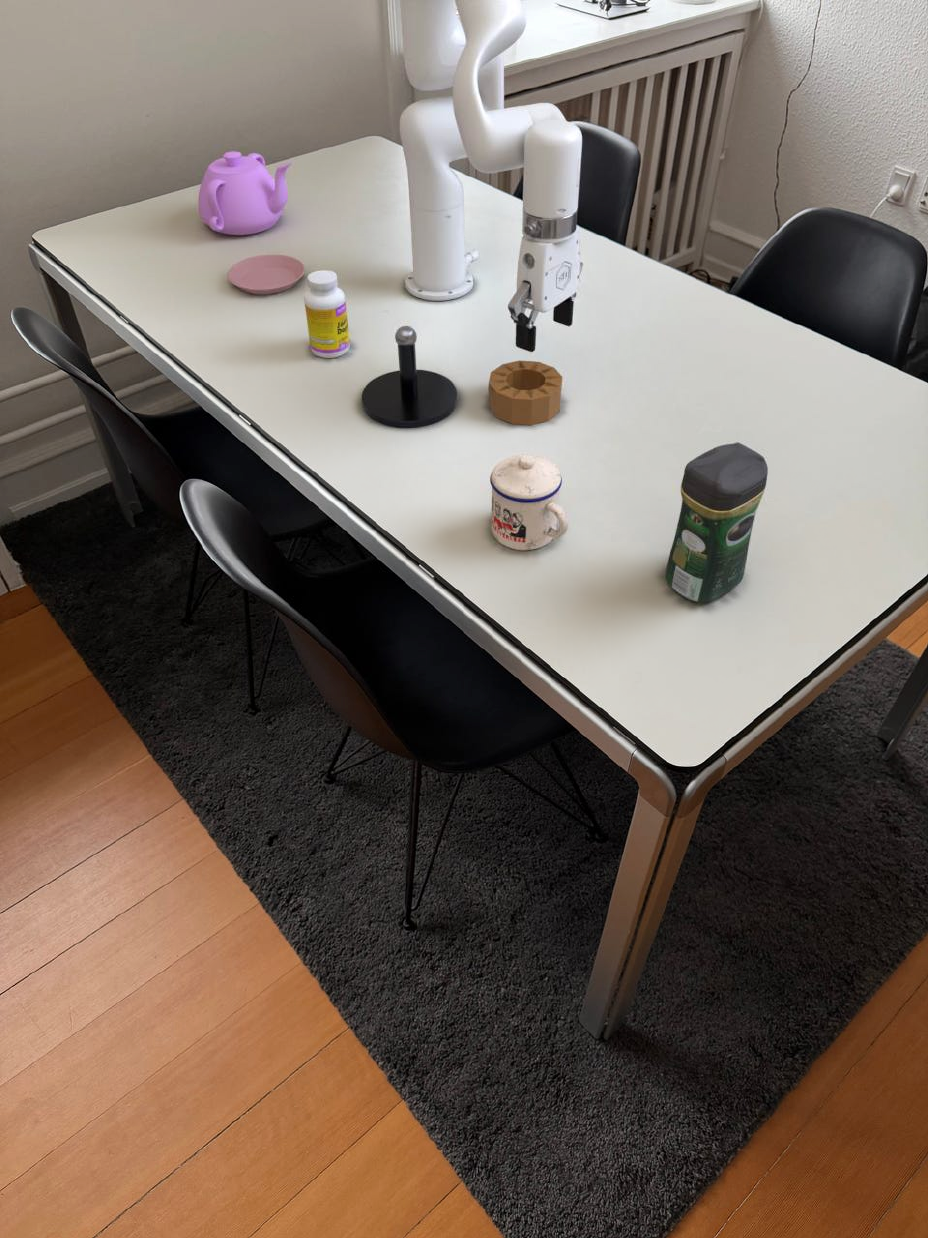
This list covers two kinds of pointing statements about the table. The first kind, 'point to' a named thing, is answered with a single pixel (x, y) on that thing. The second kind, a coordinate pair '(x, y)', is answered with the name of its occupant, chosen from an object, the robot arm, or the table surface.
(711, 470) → the coffee jar
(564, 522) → the teacup with lid
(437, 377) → the stand
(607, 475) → the table surface
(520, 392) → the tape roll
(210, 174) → the teapot
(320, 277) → the supplement bottle
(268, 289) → the plate
